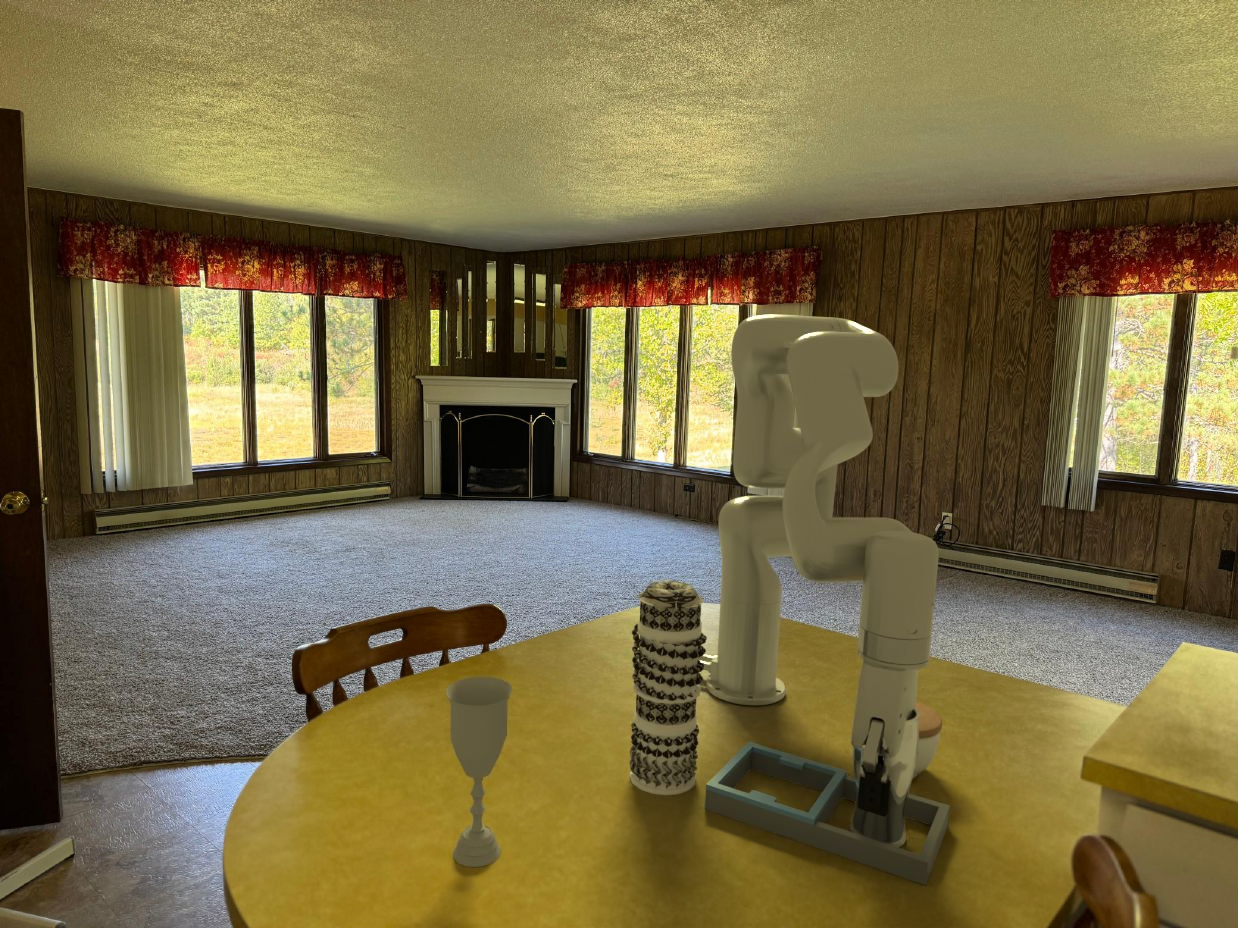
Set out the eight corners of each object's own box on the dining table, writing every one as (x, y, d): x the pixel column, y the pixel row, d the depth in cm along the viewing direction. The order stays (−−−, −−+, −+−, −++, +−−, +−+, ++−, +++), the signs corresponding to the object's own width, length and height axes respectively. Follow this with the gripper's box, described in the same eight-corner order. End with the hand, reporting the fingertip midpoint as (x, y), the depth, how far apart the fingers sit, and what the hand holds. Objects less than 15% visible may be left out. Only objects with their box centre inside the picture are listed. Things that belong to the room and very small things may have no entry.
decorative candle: (667, 805, 97) (677, 602, 94) (611, 776, 103) (618, 584, 100) (713, 778, 104) (724, 587, 101) (658, 752, 110) (666, 571, 107)
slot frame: (704, 808, 97) (706, 784, 97) (746, 763, 108) (748, 741, 108) (925, 885, 84) (928, 857, 84) (947, 825, 95) (950, 800, 95)
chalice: (448, 832, 90) (450, 676, 88) (510, 831, 91) (514, 676, 89) (439, 874, 83) (441, 705, 81) (507, 873, 84) (511, 705, 81)
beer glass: (914, 856, 89) (926, 726, 87) (847, 847, 90) (858, 718, 88) (905, 821, 96) (916, 699, 94) (843, 813, 97) (853, 692, 95)
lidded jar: (840, 771, 107) (845, 702, 106) (866, 740, 116) (871, 677, 115) (925, 798, 101) (931, 726, 100) (945, 764, 110) (952, 697, 109)
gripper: (878, 617, 99) (866, 756, 102) (837, 660, 85) (824, 822, 87) (943, 630, 96) (930, 774, 98) (912, 677, 81) (897, 845, 83)
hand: (880, 795), depth 92 cm, fingers closed on beer glass, 6 cm apart
